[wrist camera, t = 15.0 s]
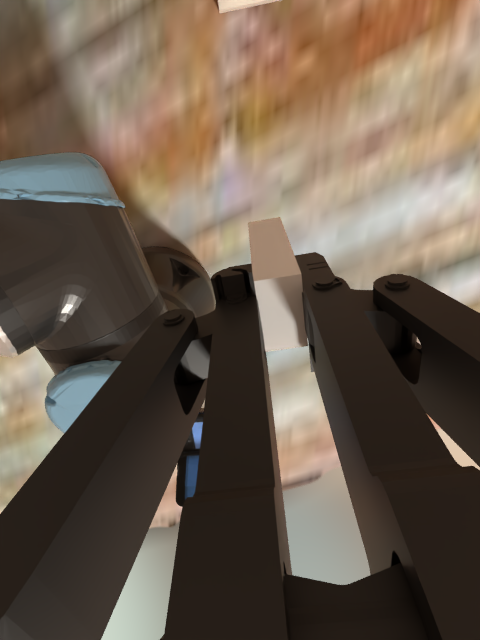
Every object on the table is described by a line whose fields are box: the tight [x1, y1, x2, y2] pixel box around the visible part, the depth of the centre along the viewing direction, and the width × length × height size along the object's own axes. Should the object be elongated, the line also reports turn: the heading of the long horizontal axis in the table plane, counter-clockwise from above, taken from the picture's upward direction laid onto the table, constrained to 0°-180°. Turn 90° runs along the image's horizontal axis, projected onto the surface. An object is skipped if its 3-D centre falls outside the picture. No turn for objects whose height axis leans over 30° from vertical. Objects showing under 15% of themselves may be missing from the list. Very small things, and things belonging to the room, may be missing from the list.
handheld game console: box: [176, 413, 204, 507], centre depth 61 cm, size 16×13×9 cm
